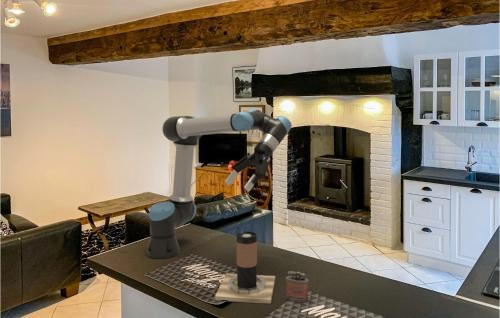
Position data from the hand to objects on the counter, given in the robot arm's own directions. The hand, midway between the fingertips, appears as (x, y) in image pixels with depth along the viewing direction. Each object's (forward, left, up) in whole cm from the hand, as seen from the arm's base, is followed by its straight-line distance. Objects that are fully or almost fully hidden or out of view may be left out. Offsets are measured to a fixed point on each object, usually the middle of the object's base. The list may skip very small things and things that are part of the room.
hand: (236, 186), depth 161 cm
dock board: (+13, +6, -37) cm, 40 cm away
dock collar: (+13, +6, -35) cm, 38 cm away
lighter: (+18, +25, -37) cm, 48 cm away
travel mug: (+13, +6, -35) cm, 38 cm away
